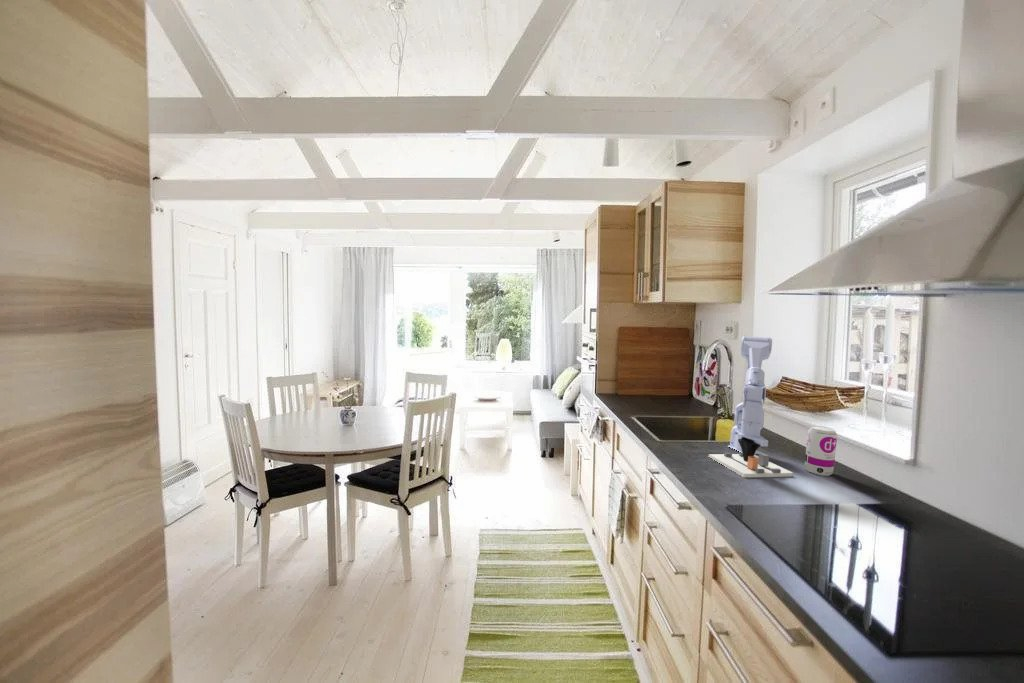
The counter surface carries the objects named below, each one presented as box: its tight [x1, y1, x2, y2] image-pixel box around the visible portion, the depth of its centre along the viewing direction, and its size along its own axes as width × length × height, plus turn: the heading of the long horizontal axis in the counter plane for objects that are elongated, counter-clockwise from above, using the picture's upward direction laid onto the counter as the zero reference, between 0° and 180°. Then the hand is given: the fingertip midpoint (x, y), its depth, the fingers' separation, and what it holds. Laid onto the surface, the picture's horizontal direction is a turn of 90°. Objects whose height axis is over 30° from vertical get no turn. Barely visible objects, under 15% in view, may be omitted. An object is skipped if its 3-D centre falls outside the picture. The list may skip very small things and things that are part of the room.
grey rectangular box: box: [758, 452, 770, 466], centre depth 157 cm, size 2×2×4 cm
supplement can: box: [804, 425, 838, 477], centre depth 158 cm, size 8×8×15 cm
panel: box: [708, 452, 794, 478], centre depth 160 cm, size 19×18×2 cm
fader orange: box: [747, 456, 759, 469], centre depth 154 cm, size 2×2×4 cm
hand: (747, 461), depth 156 cm, fingers closed
